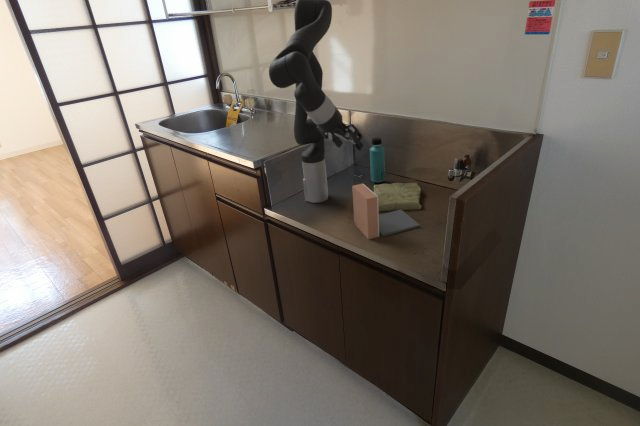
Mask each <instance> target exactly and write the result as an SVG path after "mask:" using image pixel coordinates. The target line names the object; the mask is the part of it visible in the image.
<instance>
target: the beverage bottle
mask: <svg viewBox="0 0 640 426" xmlns="http://www.w3.org/2000/svg"><path fill="white" fill-rule="evenodd" d="M371 139H372V140H371V145H372V146H371V147H370V148H369V161H370V163H369V165H370V166H369V167H370V168H369V169H370V170H369V171H370V180H371V182H373V183H382V182H385V180H386V177H387V176H386V164H385V163H386V158H385V156H386V155H385V147H384V146H383V145H381V144H382V142H383V141H382V138H381V137H374V138H371Z"/></svg>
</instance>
